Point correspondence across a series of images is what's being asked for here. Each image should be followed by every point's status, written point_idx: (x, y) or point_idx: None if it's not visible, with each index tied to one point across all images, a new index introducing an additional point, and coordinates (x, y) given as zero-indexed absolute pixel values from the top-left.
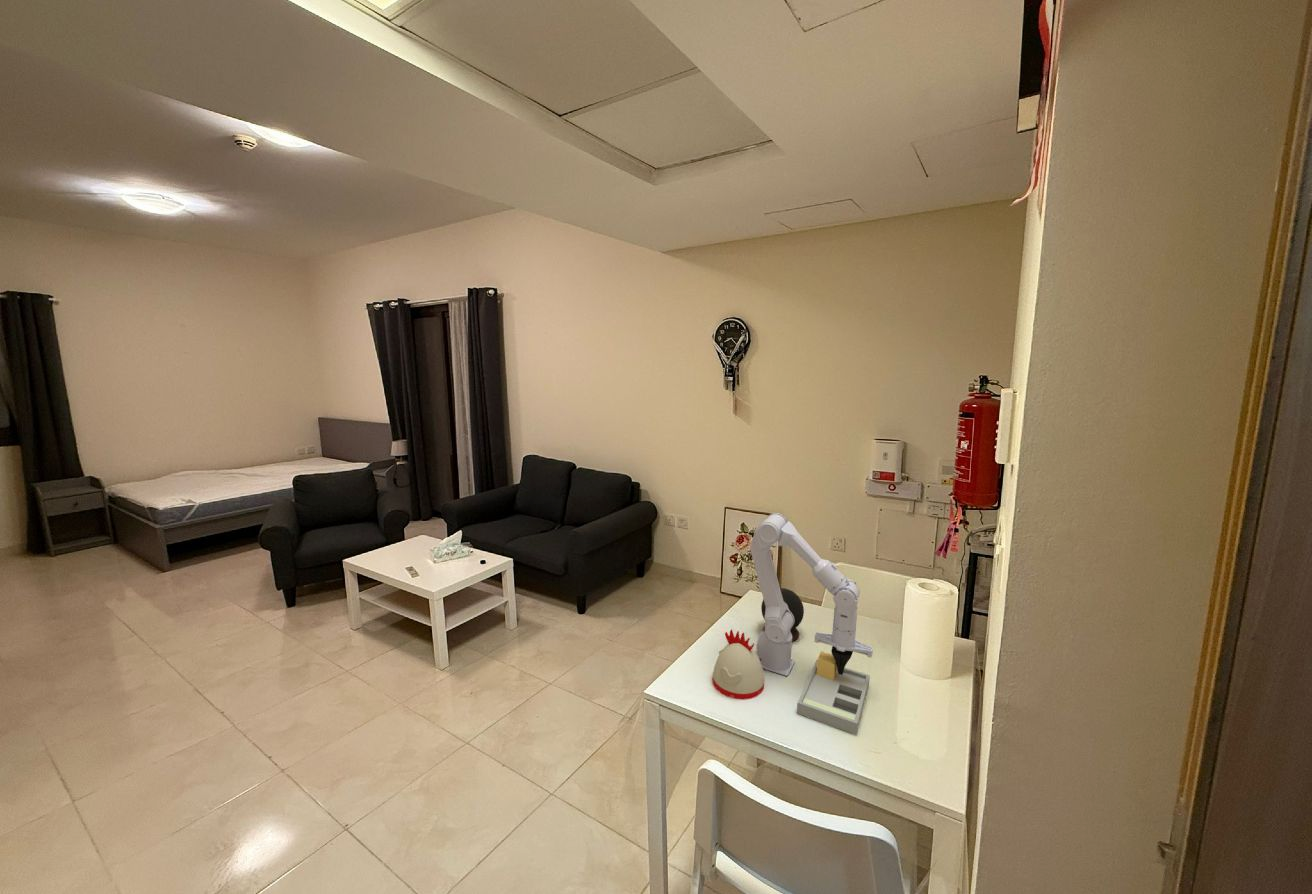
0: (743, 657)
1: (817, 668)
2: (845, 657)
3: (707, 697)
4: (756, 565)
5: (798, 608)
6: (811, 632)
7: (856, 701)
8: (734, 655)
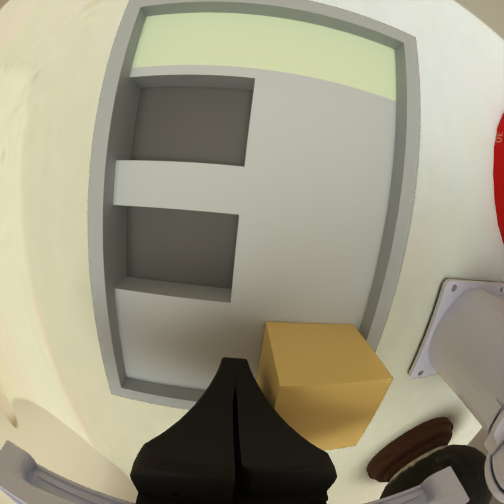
0: None
1: (365, 344)
2: (186, 453)
3: None
4: None
5: None
6: (331, 486)
7: (129, 183)
8: None
